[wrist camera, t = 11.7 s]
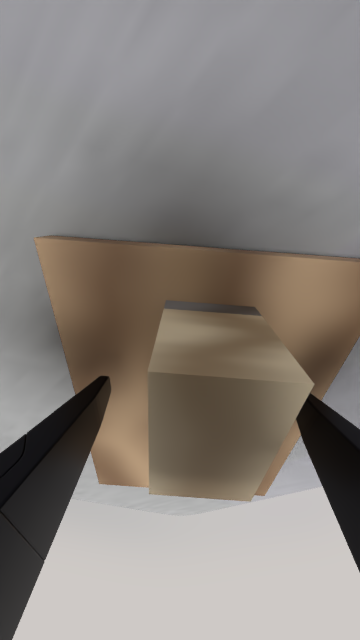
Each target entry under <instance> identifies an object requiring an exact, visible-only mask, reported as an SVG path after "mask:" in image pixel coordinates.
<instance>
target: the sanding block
mask: <svg viewBox="0 0 360 640" xmlns="http://www.w3.org/2000/svg"><path fill="white" fill-rule="evenodd" d="M313 386H314V383H313V382H312V380H311V379H310V378H309V376H308V375H307V374H306V372H305V371H304V370H303V369H302V367H301V366H300V365H299V363H298V362H297V361H296V359H295V358H294V357H293V356H292V354H291V353H290V352H289V350H288V349H287V348H286V346H285V345H284V344H283V343H282V341H281V340H280V339H279V337H278V336H277V335H276V334H275V332H274V331H273V330H272V328H271V327H270V326H269V324H268V323H267V322H266V321H265V319H264V318H263V317H262V315H261V314H260V313H259V311H258V310H257V309H256V308H255V307H249V306H236V305H223V304H210V303H196V302H183V301H170V300H166V302H165V306H164V310H163V314H162V318H161V321H160V325H159V329H158V333H157V337H156V341H155V345H154V349H153V352H152V356H151V360H150V364H149V368H148V443H149V494H154V495H168V496H182V497H195V498H209V499H223V500H236V501H250V502H251V500H252V498H253V496H254V494H255V493H256V491H257V489H258V487H259V485H260V483H261V481H262V480H263V478H264V476H265V474H266V472H267V470H268V469H269V467H270V465H271V463H272V461H273V459H274V458H275V456H276V454H277V452H278V450H279V448H280V447H281V445H282V443H283V441H284V439H285V437H286V436H287V434H288V432H289V430H290V428H291V426H292V425H293V423H294V421H295V419H296V417H297V415H298V414H299V412H300V410H301V408H302V406H303V404H304V402H305V401H306V399H307V397H308V395H309V393H310V391H311V390H312V388H313Z"/></svg>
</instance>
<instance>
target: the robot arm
mask: <svg viewBox="0 0 360 640" xmlns="http://www.w3.org/2000/svg"><path fill="white" fill-rule="evenodd" d="M110 394H111V382H110V377H109V376H99V377H98V378H97V379H95V380H94V381H93V382H91V383H90V384H89V385H88V386H86V387H85V388H84V389H82V390H81V391H80V392H79V393H77V394H76V395H75V396H74V397H72V398H71V399H70V400H68V401H67V402H66V403H65V404H63V405H62V406H61V407H59V408H58V409H57V410H56V411H54V412H53V413H52V414H50V415H49V416H48V417H47V418H45V419H44V420H43V421H41V422H40V423H39V424H38V425H36V426H35V427H34V428H33V429H31V430H30V431H29V432H27V434H25V435H23V436H22V437H21V438H20V439H18V440H17V441H16V442H14V443H13V444H12V445H10V446H9V447H8V448H7V449H5V450H4V451H3V452H1V453H0V640H12V638H13V636H14V634H15V631H16V629H17V626H18V624H19V622H20V619H21V617H22V614H23V612H24V610H25V607H26V605H27V602H28V600H29V598H30V595H31V593H32V590H33V588H34V586H35V583H36V581H37V578H38V576H39V574H40V571H41V569H42V566H43V564H44V560H45V559H46V557H47V554H48V552H49V549H50V547H51V545H52V542H53V540H54V537H55V535H56V533H57V530H58V528H59V525H60V523H61V521H62V518H63V516H64V513H65V511H66V508H67V506H68V504H69V501H70V499H71V497H72V494H73V492H74V489H75V487H76V485H77V482H78V480H79V477H80V475H81V473H82V470H83V468H84V465H85V463H86V461H87V458H88V456H89V453H90V451H91V449H92V446H93V444H94V441H95V439H96V437H97V434H98V432H99V429H100V427H101V424H102V421H103V418H104V414H105V411H106V408H107V404H108V401H109V398H110ZM296 421H297V424H298V427H299V430H300V434H301V436H302V439H303V442H304V444H305V447H306V449H307V451H308V454H309V456H310V458H311V460H312V463H313V465H314V467H315V470H316V472H317V474H318V477H319V479H320V481H321V484H322V486H323V488H324V490H325V493H326V495H327V497H328V500H329V502H330V505H331V507H332V509H333V511H334V514H335V516H336V518H337V521H338V523H339V525H340V528H341V530H342V532H343V535H344V537H345V539H346V542H347V544H348V546H349V549H350V551H351V553H352V555H353V558H354V560H355V562H356V564H357V567H358V569H359V572H360V429H358V428H357V427H356V426H354V425H353V424H352V423H350V422H349V421H348V420H346V419H345V418H344V417H342V416H341V415H339V414H338V413H337V412H335V411H334V410H333V409H331V408H330V407H329V406H327V405H326V404H325V403H323V402H322V401H321V400H319V399H318V398H317V397H315V396H314V395H312V394H311V393H309V395H308V397H307V399H306V401H305V402H304V404H303V406H302V408H301V410H300V412H299V414H298V415H297V417H296Z"/></svg>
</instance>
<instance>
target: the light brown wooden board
mask: <svg viewBox="0 0 360 640" xmlns="http://www.w3.org/2000/svg"><path fill="white" fill-rule="evenodd" d="M34 241H35V245H36V248H37V252H38V256H39V259H40V263H41V267H42V271H43V274H44V278H45V282H46V286H47V289H48V293H49V297H50V301H51V304H52V308H53V312H54V316H55V319H56V323H57V327H58V331H59V334H60V338H61V342H62V346H63V349H64V353H65V357H66V361H67V364H68V368H69V372H70V376H71V379H72V383H73V387H74V391H75V394H77V393H79V392H80V391H81V390H82V389H84V388H85V387H86V386H88V385H89V384H90V383H91V382H93V381H94V380H95V379H97V378H98V377H99V376H109V377H110V382H111V394H110V398H109V401H108V404H107V408H106V411H105V414H104V418H103V421H102V424H101V427H100V429H99V432H98V434H97V437H96V439H95V441H94V444H93V446H92V449H91V454H92V458H93V462H94V465H95V469H96V473H97V477H98V480H99V484H107V485H121V486H135V487H149V443H148V368H149V364H150V360H151V356H152V352H153V349H154V345H155V341H156V337H157V333H158V329H159V325H160V321H161V318H162V314H163V310H164V306H165V302H166V300H170V301H183V302H196V303H210V304H223V305H236V306H249V307H255V308H256V309H257V310H258V311H259V313H260V314H261V315H262V317H263V318H264V319H265V321H266V322H267V323H268V324H269V326H270V327H271V328H272V330H273V331H274V332H275V334H276V335H277V336H278V337H279V339H280V340H281V341H282V343H283V344H284V345H285V346H286V348H287V349H288V350H289V352H290V353H291V354H292V356H293V357H294V358H295V359H296V361H297V362H298V363H299V365H300V366H301V367H302V369H303V370H304V371H305V372H306V374H307V375H308V376H309V378H310V379H311V380H312V382H313V383H314V386H313V388H312V390H311V391H310V393H311V394H312V395H314V396H315V397H317V398H318V399H319V400H322V398H323V397H324V395H325V393H326V392H327V390H328V388H329V387H330V385H331V383H332V382H333V380H334V378H335V377H336V375H337V373H338V372H339V370H340V368H341V367H342V365H343V363H344V361H345V360H346V358H347V356H348V355H349V353H350V351H351V350H352V348H353V346H354V345H355V343H356V341H357V340H358V338H359V336H360V259H357V258H344V257H330V256H317V255H304V254H290V253H277V252H264V251H250V250H237V249H224V248H210V247H197V246H183V245H170V244H157V243H143V242H130V241H117V240H103V239H90V238H77V237H63V236H44V237H35V238H34ZM300 435H301V434H300V430H299V427H298V424H297V421H296V419H295V421H294V423H293V425H292V426H291V428H290V430H289V432H288V434H287V436H286V437H285V439H284V441H283V443H282V445H281V447H280V448H279V450H278V452H277V454H276V456H275V458H274V459H273V461H272V463H271V465H270V467H269V469H268V470H267V472H266V474H265V476H264V478H263V480H262V481H261V483H260V485H259V487H258V489H257V491H256V493H255V494H254V495H259V496H265V494H266V492H267V491H268V489H269V487H270V486H271V484H272V482H273V481H274V479H275V477H276V476H277V474H278V472H279V470H280V469H281V467H282V465H283V464H284V462H285V460H286V459H287V457H288V455H289V454H290V452H291V450H292V449H293V447H294V445H295V444H296V442H297V440H298V439H299V437H300Z"/></svg>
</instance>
